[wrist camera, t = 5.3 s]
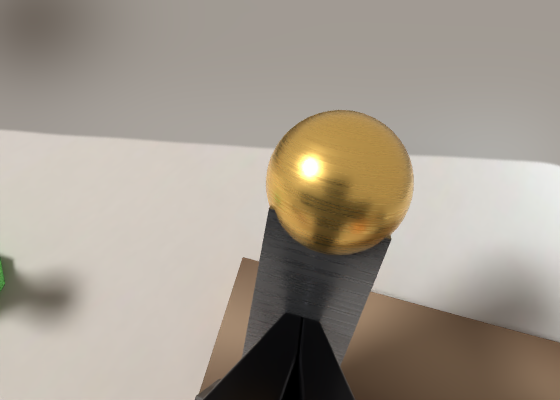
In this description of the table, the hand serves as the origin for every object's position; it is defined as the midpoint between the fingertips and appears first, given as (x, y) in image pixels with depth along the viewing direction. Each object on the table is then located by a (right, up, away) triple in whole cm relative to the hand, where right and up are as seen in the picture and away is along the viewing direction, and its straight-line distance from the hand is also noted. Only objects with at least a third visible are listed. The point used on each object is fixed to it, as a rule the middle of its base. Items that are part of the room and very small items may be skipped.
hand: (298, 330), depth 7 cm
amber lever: (-1, -6, +4) cm, 7 cm away
